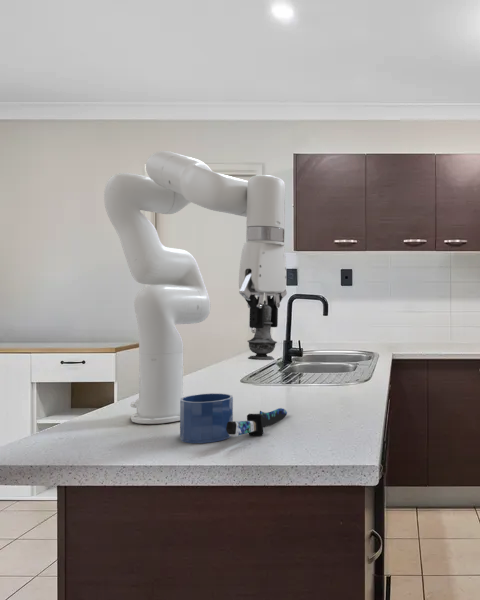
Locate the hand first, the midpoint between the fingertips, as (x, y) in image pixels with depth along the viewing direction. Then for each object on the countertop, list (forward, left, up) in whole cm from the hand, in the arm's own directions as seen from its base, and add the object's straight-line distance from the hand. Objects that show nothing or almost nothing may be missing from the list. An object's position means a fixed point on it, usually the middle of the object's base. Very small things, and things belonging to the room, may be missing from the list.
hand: (263, 326), depth 105 cm
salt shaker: (0, 0, -7) cm, 7 cm away
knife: (-3, +4, -23) cm, 23 cm away
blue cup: (-11, -5, -23) cm, 25 cm away
